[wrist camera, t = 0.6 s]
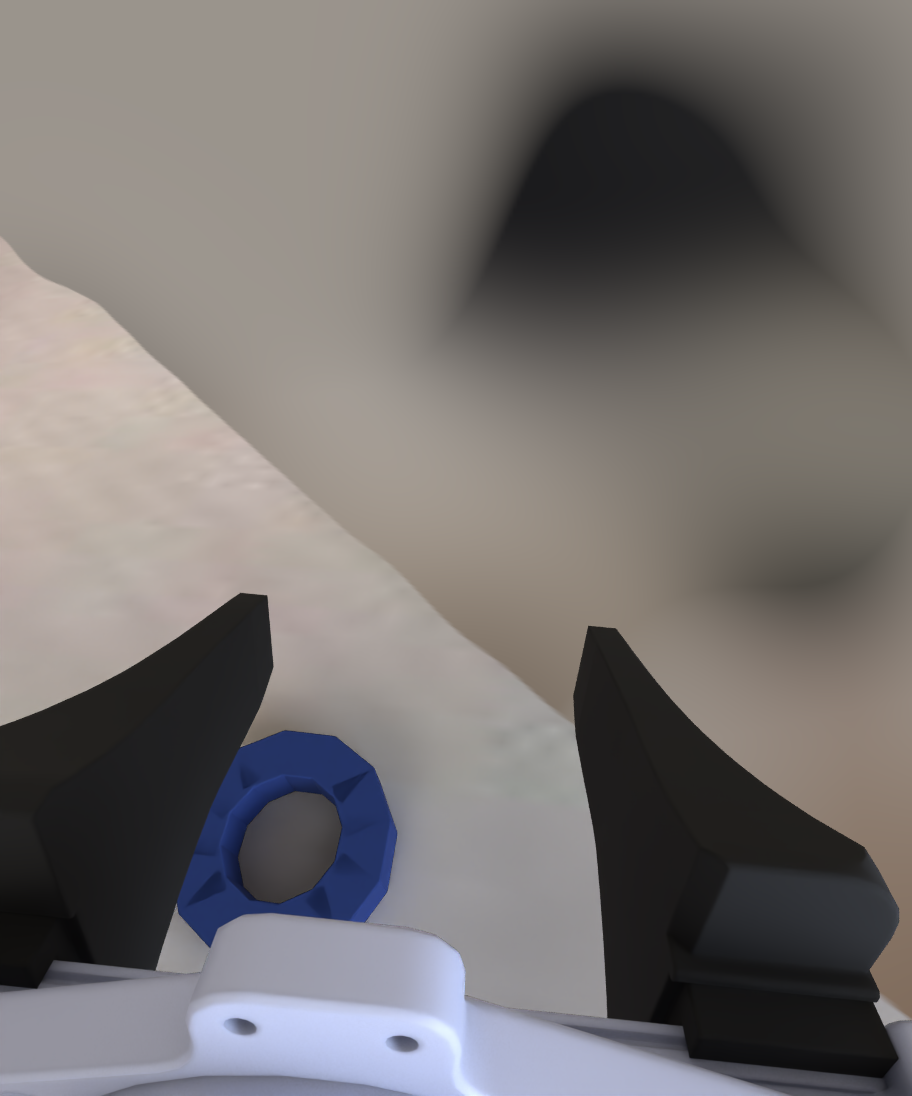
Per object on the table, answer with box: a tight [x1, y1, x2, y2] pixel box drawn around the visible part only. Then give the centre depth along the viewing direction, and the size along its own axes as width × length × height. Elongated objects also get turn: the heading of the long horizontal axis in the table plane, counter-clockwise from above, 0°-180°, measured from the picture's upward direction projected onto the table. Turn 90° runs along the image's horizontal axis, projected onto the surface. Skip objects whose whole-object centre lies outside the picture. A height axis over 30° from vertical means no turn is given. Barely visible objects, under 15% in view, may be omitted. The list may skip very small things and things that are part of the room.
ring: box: [177, 730, 397, 948], centre depth 28 cm, size 9×9×2 cm
